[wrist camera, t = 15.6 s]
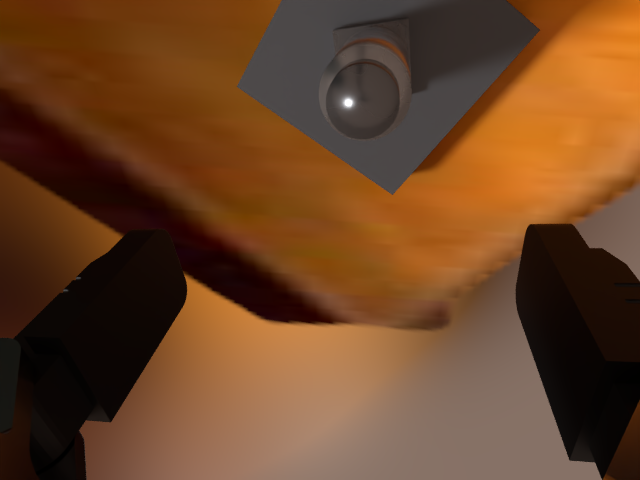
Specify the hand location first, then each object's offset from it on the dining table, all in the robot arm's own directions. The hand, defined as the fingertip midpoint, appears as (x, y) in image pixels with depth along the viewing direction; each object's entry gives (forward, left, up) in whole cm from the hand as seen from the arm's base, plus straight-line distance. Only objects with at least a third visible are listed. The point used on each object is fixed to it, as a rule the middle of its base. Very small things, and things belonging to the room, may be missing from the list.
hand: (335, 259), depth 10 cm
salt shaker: (0, 0, -24) cm, 24 cm away
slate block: (0, 0, -28) cm, 28 cm away
